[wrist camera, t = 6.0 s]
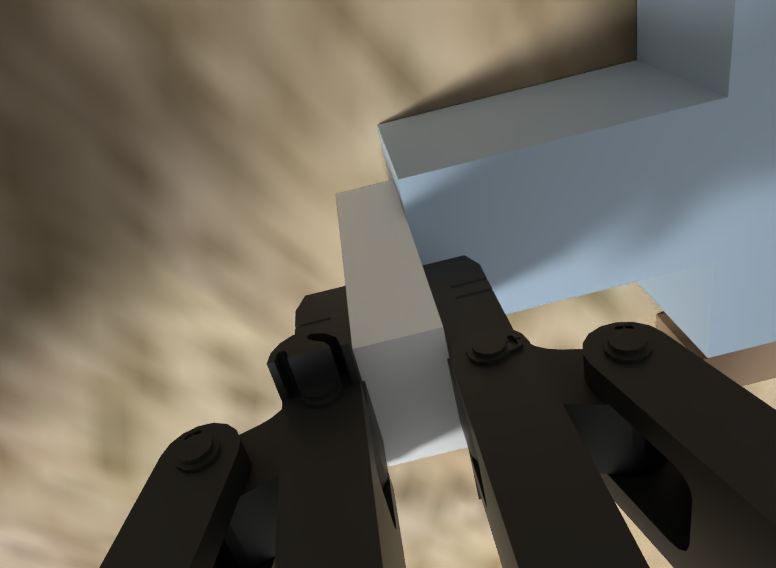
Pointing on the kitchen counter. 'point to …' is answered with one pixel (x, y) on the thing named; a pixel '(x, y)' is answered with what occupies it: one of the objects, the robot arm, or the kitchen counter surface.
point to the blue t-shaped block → (617, 176)
